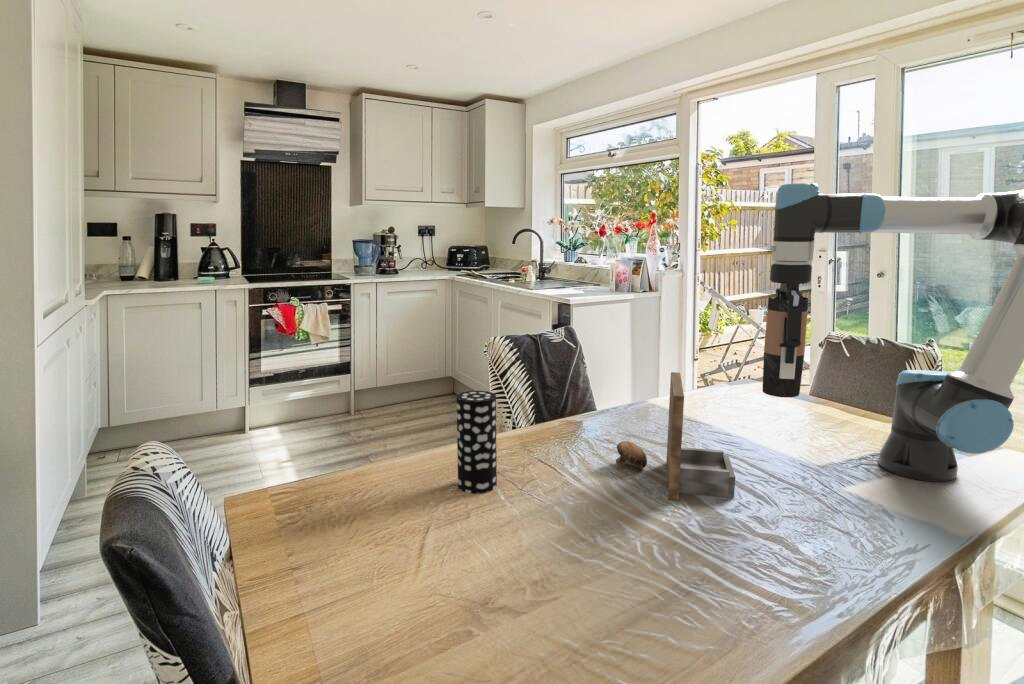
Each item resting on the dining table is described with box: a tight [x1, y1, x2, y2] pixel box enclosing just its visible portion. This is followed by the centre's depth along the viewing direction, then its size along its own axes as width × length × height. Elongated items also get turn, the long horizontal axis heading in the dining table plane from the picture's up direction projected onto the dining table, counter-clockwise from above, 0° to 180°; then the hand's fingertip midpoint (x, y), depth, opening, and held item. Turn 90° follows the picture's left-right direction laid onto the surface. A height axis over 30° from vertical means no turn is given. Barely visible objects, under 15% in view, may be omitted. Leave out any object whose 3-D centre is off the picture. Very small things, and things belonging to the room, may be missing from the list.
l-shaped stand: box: [665, 371, 736, 501], centre depth 132 cm, size 13×20×22 cm, turn 167°
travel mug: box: [762, 295, 809, 398], centre depth 127 cm, size 8×8×20 cm
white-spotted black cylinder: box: [456, 390, 498, 495], centre depth 131 cm, size 8×8×20 cm
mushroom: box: [615, 440, 648, 469], centre depth 142 cm, size 8×8×6 cm
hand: (782, 373), depth 128 cm, fingers closed on travel mug, 8 cm apart
